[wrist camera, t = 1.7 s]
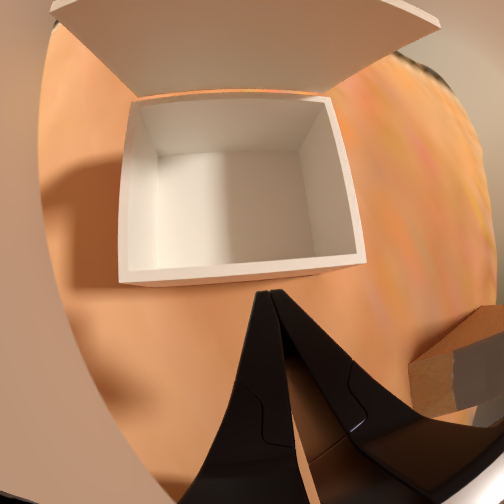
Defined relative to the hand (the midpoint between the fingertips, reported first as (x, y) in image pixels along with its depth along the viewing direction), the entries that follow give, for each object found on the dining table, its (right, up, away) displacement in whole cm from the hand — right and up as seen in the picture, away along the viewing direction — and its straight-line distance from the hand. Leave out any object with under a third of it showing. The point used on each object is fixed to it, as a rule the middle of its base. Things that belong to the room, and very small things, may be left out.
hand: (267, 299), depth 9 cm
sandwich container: (+24, -12, +15) cm, 30 cm away
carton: (-2, +5, +14) cm, 15 cm away
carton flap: (-1, +11, +1) cm, 11 cm away
